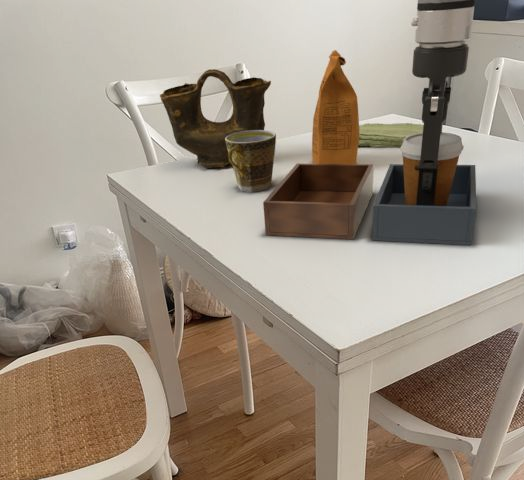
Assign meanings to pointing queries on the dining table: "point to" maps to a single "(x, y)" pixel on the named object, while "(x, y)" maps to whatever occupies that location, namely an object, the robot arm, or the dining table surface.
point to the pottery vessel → (208, 132)
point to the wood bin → (320, 201)
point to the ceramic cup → (252, 158)
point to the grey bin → (425, 211)
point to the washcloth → (386, 134)
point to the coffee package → (335, 117)
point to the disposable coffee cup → (446, 160)
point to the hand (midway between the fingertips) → (426, 200)
